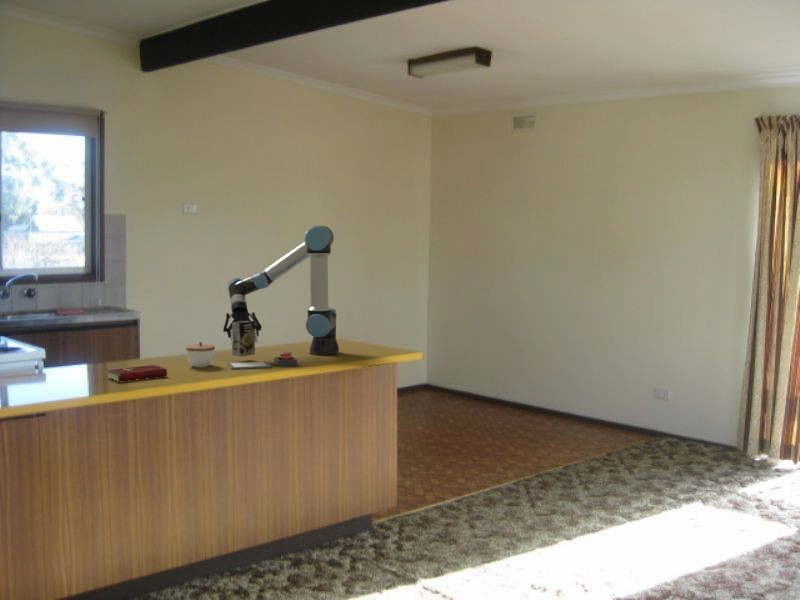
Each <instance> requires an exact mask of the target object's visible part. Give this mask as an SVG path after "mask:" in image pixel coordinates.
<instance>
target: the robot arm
mask: <svg viewBox="0 0 800 600" xmlns="http://www.w3.org/2000/svg"><path fill="white" fill-rule="evenodd" d="M334 238H335V236H334V232H333V231H332V230H331V228H329V227H328V226H326V225H314V226H312V227H309V229H308V230H307V231H306V232H305V234H304V242H302V243H301V244H299V245H298V246H296V247H295V248H294V249H292V250H291V251H290V252H288V253H286V254H285V255H284V256H282V257H281V258H280V259H278V260H277V261H275V262H273V264H271V265H270V266H268V267H267V268H265V269H264V270H262V271H261V272H258V273H255V274H253V275H251V276H249V277H246V278H244V279H241V278H240V277H236V278H235V277H233V278H231V279H230V280H229V281H228V284H227V285H228V287H227V290H228V295H229V300H230V301H229V302H230V309H231V313H229V312H227V313H226V314H225V318H226V319H225V321H224V325H223V330H222V331H223V333H227V337H228V338H229V339H230V345H232V344H233V341H234V340H233V333H232V322H237V321H255V344H258V340H259V339H258V337H259V335H260V334H259V333H260V331H262V327H263V326H262V325H261V323H260V322H259V320H258V318H257V315H256V313H255V312H252V313H251V312H250V313H249V310H248V306H247V305H248V304H247V299H246V296H247V295H249V294H252V293H254V292H257V291H258V290H259V291H260V290H262V289H266V288H268V287H269V286H270V285H271V284H273V283H274V282H275V281H276V280H278V279H279V278H281V277H282V276H283V275H285V274H287V273H288V272H290V271H291V270H293V269H294V268H295V267H297V266H298V265H300V264H301V263H302V262H305V260H307V259H308V258H309V268H310V269H309V273H310V274H309V275H310V276H309V277H310V278H309V280H310V281H309V282H310V284H309V287H310V288H309V289H310V306H309V307H308V308H307V319H306V321H305V329H306V331H307V332H308V334H309V335H310V336H312V337H313V338H312V340H311V343H310V347H309V354H310V353H311V355H314V354H315V356H335V354H336V355H339V354H340V347H339V343H338V340H337V309H336V308H331V307H330V306H329V263H328V260H329V259H328V257H330V255H331V252H332V248H331V247H332V244H333V242H334ZM231 318H232V319H233V320H232V321H231V322H230V324H229V321H230V320H231ZM250 318H251V319H252V320H251V319H250ZM228 325H229V326H228Z"/></svg>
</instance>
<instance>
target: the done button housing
mask: <svg viewBox="0 0 800 600" xmlns="http://www.w3.org/2000/svg"><path fill="white" fill-rule="evenodd" d="M274 363H275V364H276V365H277V366H276V365H275V364H274ZM273 364H274V365H275V366H276V367H278V366H287V367H298V359H297V358H296V357H294V356H291V359H290V360H280V356H275V357H273Z"/></svg>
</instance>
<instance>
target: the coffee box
mask: <svg viewBox="0 0 800 600" xmlns="http://www.w3.org/2000/svg"><path fill="white" fill-rule="evenodd" d="M231 323H232V333H233V340H234V341H233V344H231V345H232V346H231V347H232V348H231V350H232V351H231V352H232V353H231V355H232V356H235V357H247V356H248V357H249V356H253V355H254V356H255V355H256V343H255V321H253V320H251V321H237V322H232V321H231Z"/></svg>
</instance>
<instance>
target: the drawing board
mask: <svg viewBox="0 0 800 600" xmlns="http://www.w3.org/2000/svg"><path fill="white" fill-rule="evenodd" d="M226 365H227V366H228V368H229V367H230V368H231V369H235V370H252V369H251V368H259V369H272V365H271V364H270V363H268V362H267V361H243V362H240V361H239V362H227V363H226ZM230 368H229V369H230ZM231 369H230V370H231Z"/></svg>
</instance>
